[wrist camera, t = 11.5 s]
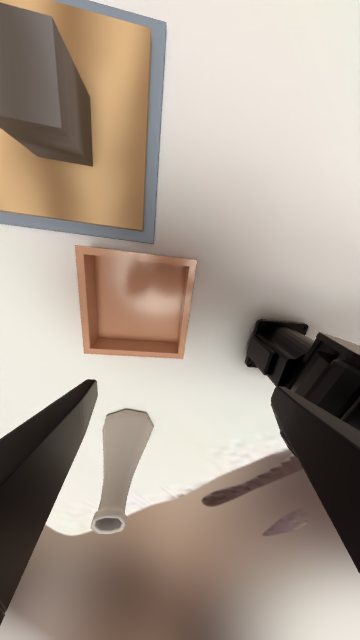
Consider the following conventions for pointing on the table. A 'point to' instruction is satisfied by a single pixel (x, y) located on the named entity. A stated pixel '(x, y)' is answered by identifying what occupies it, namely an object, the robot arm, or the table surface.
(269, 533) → the table surface
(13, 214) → the slate mat
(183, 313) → the terracotta dish
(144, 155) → the wooden lid
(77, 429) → the robot arm
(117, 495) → the flask
